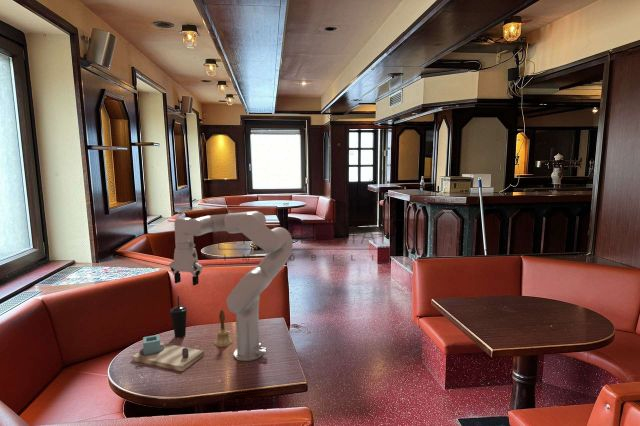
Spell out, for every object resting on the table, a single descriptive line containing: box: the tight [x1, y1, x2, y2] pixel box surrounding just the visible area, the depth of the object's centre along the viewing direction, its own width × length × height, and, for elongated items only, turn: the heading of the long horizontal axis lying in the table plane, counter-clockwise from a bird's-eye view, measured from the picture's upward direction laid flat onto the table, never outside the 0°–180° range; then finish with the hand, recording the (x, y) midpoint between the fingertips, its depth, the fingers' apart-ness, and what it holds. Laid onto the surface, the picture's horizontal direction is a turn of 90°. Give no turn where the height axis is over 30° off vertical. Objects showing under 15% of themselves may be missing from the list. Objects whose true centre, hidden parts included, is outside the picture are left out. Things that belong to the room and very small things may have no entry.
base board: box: [131, 342, 205, 372], centre depth 161 cm, size 27×14×6 cm, turn 70°
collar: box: [142, 334, 161, 355], centre depth 163 cm, size 7×7×5 cm
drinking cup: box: [169, 295, 188, 339], centre depth 181 cm, size 8×8×20 cm
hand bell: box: [213, 309, 233, 348], centre depth 174 cm, size 8×8×16 cm
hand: (186, 283), depth 166 cm, fingers open, 9 cm apart
